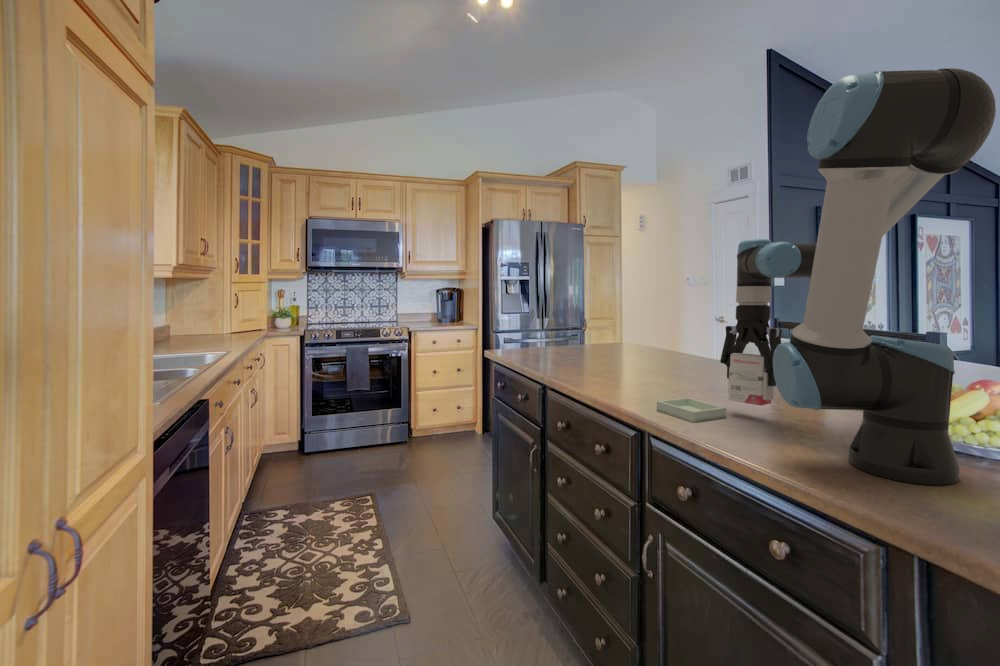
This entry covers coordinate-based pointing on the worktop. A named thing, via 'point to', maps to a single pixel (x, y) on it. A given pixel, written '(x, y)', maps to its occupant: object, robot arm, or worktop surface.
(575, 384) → the worktop surface
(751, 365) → the ink box
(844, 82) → the robot arm
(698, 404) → the pale green tray
